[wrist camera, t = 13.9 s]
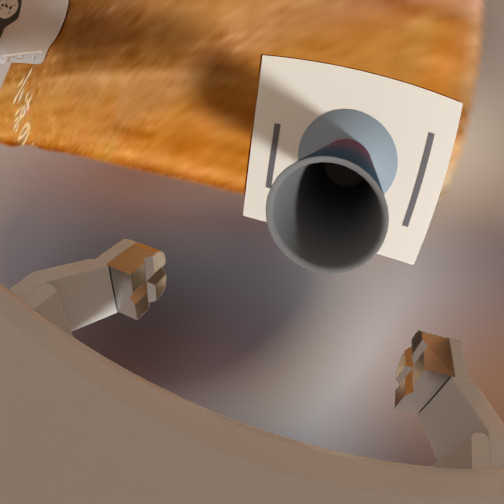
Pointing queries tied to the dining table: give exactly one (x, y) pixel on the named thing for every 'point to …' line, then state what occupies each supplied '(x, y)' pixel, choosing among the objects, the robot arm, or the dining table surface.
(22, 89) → the dining table surface
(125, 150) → the dining table surface
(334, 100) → the paper sheet
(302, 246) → the cup
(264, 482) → the robot arm
